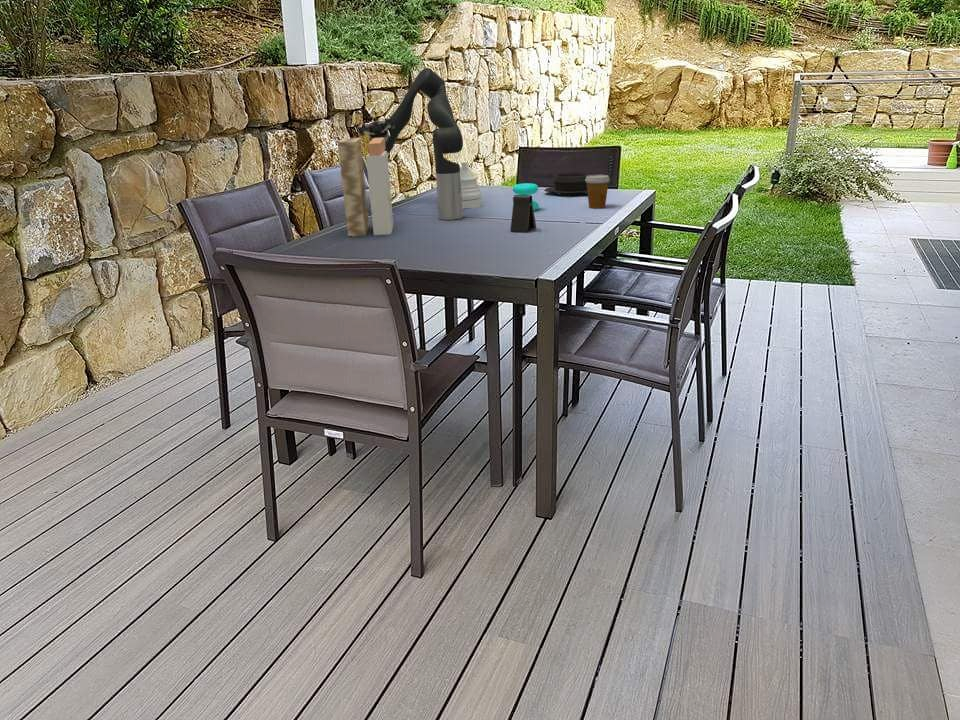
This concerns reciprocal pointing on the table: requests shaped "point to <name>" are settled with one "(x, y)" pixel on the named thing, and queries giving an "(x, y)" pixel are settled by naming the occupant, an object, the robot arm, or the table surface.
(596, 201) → the disposable coffee cup
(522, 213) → the door stopper
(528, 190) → the donuts
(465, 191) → the honey pot
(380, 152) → the terracotta bar
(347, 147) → the oak post
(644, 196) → the table surface
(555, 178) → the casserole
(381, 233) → the grey post
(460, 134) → the robot arm
